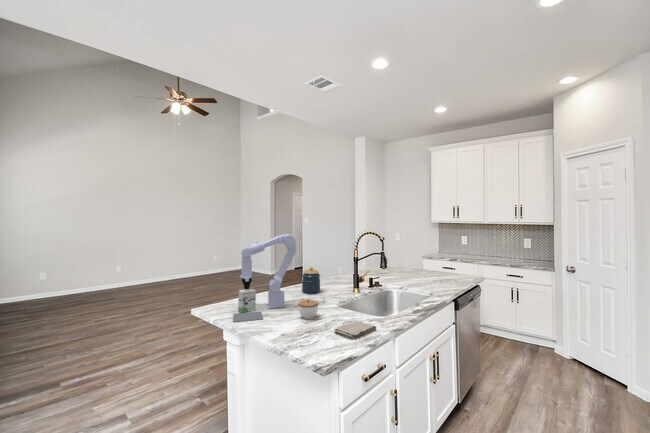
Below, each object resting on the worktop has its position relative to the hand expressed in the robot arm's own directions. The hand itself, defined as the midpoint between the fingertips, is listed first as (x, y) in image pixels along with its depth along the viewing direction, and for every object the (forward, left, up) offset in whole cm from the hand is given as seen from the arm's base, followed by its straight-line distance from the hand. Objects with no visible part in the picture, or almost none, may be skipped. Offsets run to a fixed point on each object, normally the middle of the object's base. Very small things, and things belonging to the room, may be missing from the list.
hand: (246, 291), depth 182 cm
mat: (0, +16, -10) cm, 19 cm away
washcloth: (-47, +51, -11) cm, 70 cm away
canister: (-45, -26, -10) cm, 53 cm away
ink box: (0, +5, -10) cm, 11 cm away
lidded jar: (-31, +25, -10) cm, 41 cm away
